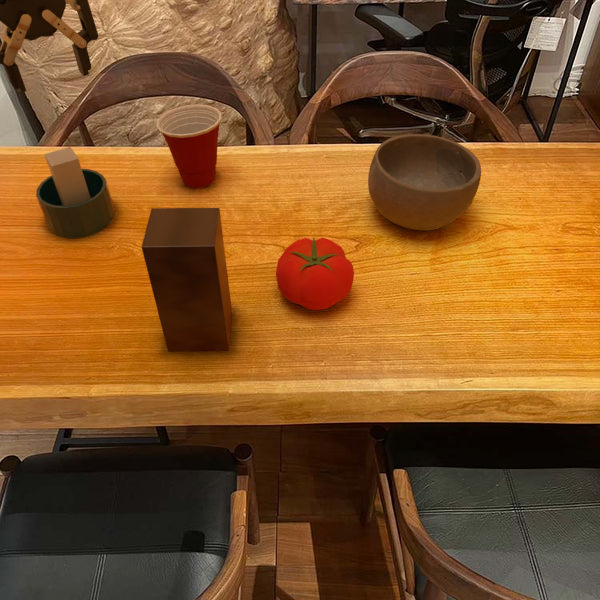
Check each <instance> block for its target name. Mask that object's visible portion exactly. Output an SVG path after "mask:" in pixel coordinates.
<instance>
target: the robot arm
mask: <svg viewBox="0 0 600 600" xmlns="http://www.w3.org/2000/svg"><path fill="white" fill-rule="evenodd" d="M67 5H69V6H70V8H71V9H72V10H74V11H76V13H77V16H78V19H79V22H80V25H81V30H80V31H75V30H74V28H72V27H71V26H70V25H68V24H67V23H66V22H65V21H64V20H63V16H64V13H65V9H66V7H67ZM0 22H1V23H2V24H3V25H4V26H5V29H4V31H3V35H2V42H1V45H0V65H2V66H3V68H4V71H5V73H6V77H7V79H8V82H9V84H10V85H11V86H12V87H13V88H14V90H18V91H19V92H20V93H25V92H27V88H26V86H25V83H24V80H23V78H22V74H21V71H20V69H19V66H18V63H17V62H16V58H17V56H18V52H19V51H20V50H21V48H22V46H23V43H24V40H26V41H27V40H28V41H29V42H32V41H36V40H38V39H39V38H41V37H42V38H43V37H44V38H50V37H53V36H55V35H54V34H55V33H56V32H57V31H58V32H60V33H61V34H62V35H63V36H65V37H66V38H67V39H68V40H70V41H71V42H72V43H71V47H72V51H73V55H74V57H75V62H76V65H77V69H78V71H79V73H80V74H81V75H82V76H83V77H86V76H89V75H90V72H89V71H91V70H92V62H91V59H90V55H89V51H88V44H89V43H90V42H92V41H97V40H98V39H99V32H98V28H97V25H96V23H95V19H94V16H93V12H92V9H91V6H90V2H89V0H0Z"/></svg>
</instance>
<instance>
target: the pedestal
mask: <svg viewBox="0 0 600 600" xmlns="http://www.w3.org/2000/svg"><path fill="white" fill-rule="evenodd" d="M220 209H221V208H220V207H166V208H165V207H161V208H160V207H156V208H155V207H154V208H151V209H150V213H149V215H148V216H149V217H148V221H147V225H146V227H145V232H144V236H143V239H142V243H141V252H142V255H143V259H144V262H145V263H144V264H145V266H146V271H147V275H148V279H149V282H150V283H149V284H150V286H151V290H152V294H153V298H154V302H155V305H156V311H157V315H158V317H159V321H160V326H161V330H162V333H163V337H164V342H165V346H166V350H167V352H206V351H207V352H217V351H218V352H222V351H226V352H227V351H229V350H230V343H231V342H230V341H231V329H232V317H233V309H232V308H233V307H232V301H231V299H232V298H231V292H230V285H229V275H228V266H227V259H226V258H227V257H226V251H225V241H224V233H223V226H222V218H221V210H220Z"/></svg>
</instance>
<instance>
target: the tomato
mask: <svg viewBox="0 0 600 600" xmlns="http://www.w3.org/2000/svg"><path fill="white" fill-rule="evenodd" d="M354 269H355V268H354V266H353V264H352V262H351V260H349V259H348V258H347V257H346V253H345V250H344V248H343V247H342V246H341V245H339V244H338V243H336V242H334V241H333V240H331V239H329V238H325V237H320V238H318V239H315V237H313V238H312V239H310V238H308V237H304V238H301V239H297V240H296V241H294V242H292V243H291V244H289V245H288V246H287V247H286V248H285V249H284V251H283V253H282V254H281V255H280V256H279V258H278V260H277V264H276V269H275V279H276V283H277V287H278V290H279V291H280V292H281V294H282V295H283V296H284V297H285V299H286V300H288V301H289V302H291V303H293V304H295V305H296V304H297V305H301V306H302V307H304V308H305V309H307V310H314V311H317V310H327V309H329V308H331V307H333V306H334V305H336V304H338V303H340V302H341V301H343V300H345V298H346V297H347V296H348V295H349V292H350V291H351V289H352V287H353V283H354V279H355V278H354V276H355V271H354Z"/></svg>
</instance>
